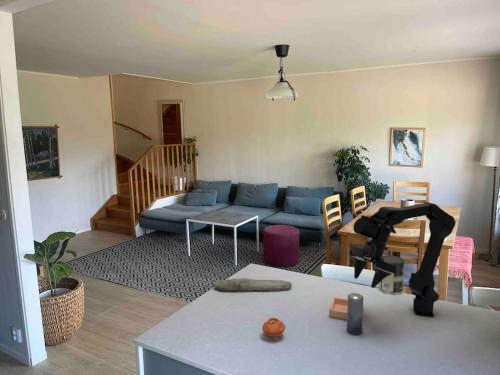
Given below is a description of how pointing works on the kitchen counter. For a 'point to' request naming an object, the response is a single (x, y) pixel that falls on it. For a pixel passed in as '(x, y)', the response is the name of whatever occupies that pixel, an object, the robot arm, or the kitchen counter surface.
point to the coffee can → (393, 276)
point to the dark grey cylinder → (355, 314)
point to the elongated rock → (252, 285)
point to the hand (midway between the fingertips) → (363, 282)
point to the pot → (273, 327)
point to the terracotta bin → (338, 308)
